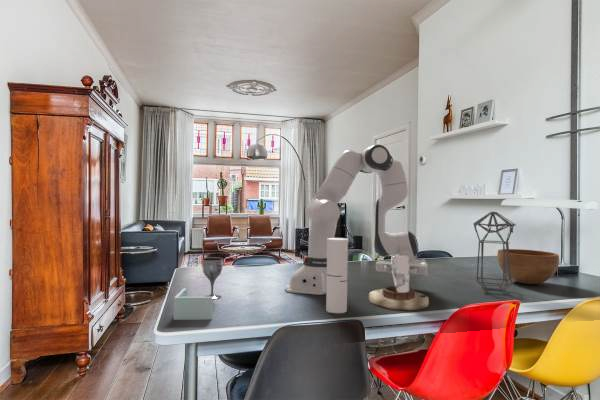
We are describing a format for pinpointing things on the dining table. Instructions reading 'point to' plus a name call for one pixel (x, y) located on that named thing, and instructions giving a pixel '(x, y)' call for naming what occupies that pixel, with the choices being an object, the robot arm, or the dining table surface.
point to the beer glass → (401, 272)
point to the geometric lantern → (503, 251)
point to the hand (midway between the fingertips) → (398, 271)
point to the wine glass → (212, 271)
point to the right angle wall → (192, 307)
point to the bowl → (530, 265)
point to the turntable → (398, 299)
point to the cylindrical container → (336, 275)
